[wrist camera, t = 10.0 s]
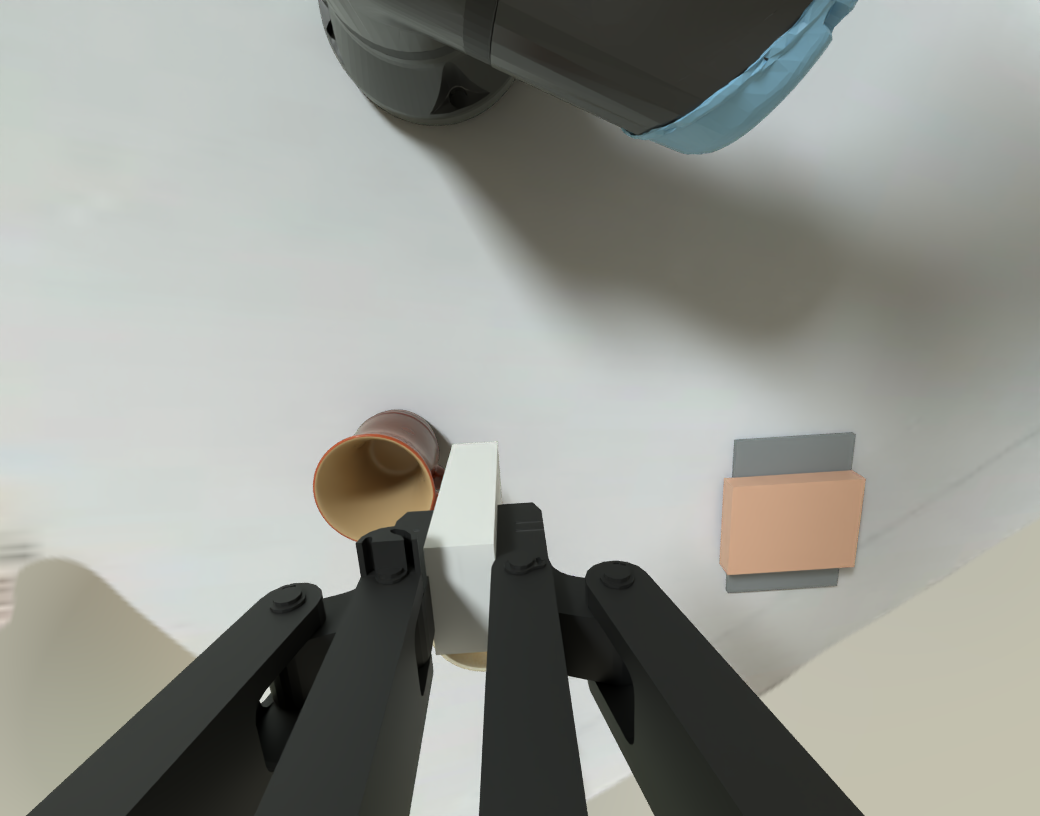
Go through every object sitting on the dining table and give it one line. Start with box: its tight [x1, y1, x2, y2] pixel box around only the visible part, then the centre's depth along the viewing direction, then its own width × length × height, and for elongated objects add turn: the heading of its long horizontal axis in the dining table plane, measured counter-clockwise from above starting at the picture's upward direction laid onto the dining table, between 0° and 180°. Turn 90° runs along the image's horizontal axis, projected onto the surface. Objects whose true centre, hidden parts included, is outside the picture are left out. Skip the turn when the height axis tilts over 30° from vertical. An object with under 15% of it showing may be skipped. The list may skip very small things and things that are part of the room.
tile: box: [720, 470, 866, 575], centre depth 50 cm, size 9×2×12 cm
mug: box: [313, 410, 445, 542], centre depth 44 cm, size 12×9×10 cm
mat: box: [726, 432, 856, 593], centre depth 51 cm, size 16×11×1 cm
